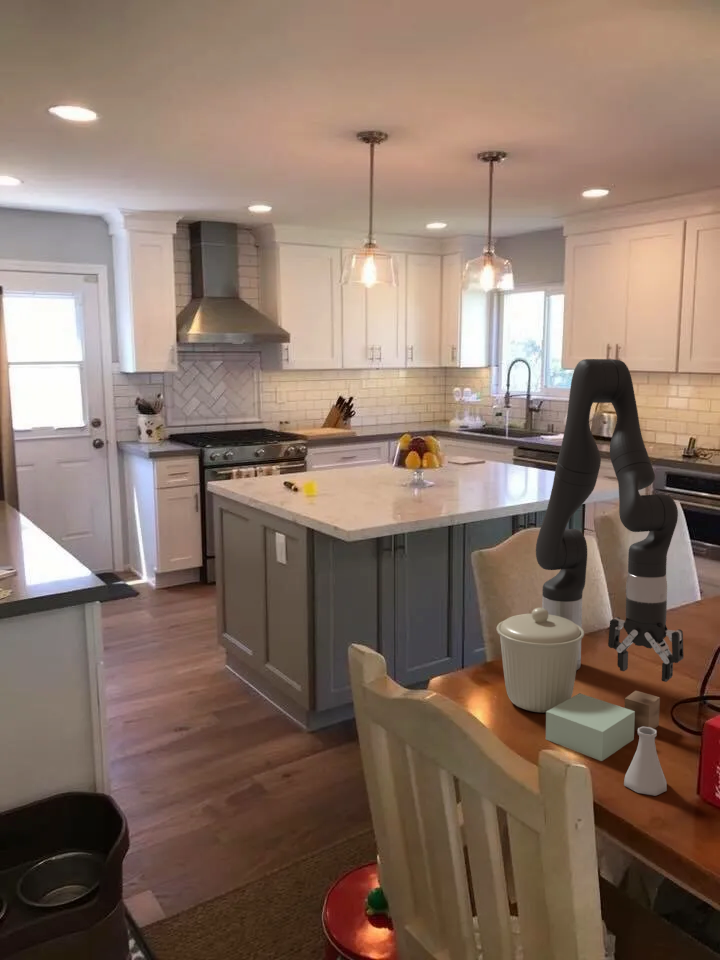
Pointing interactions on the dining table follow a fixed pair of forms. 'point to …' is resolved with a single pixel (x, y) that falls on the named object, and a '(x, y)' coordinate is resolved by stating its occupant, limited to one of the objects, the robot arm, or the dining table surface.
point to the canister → (539, 659)
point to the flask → (646, 766)
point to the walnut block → (644, 709)
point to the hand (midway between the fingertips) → (644, 675)
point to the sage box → (590, 726)
